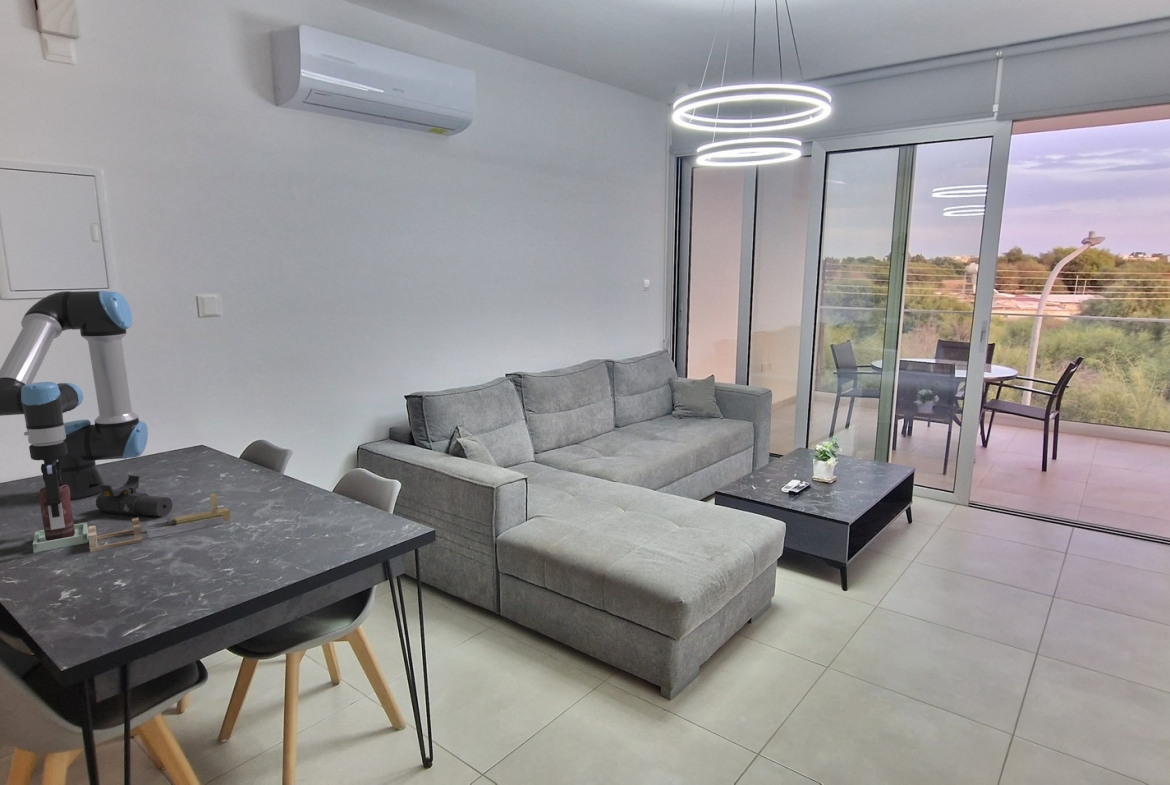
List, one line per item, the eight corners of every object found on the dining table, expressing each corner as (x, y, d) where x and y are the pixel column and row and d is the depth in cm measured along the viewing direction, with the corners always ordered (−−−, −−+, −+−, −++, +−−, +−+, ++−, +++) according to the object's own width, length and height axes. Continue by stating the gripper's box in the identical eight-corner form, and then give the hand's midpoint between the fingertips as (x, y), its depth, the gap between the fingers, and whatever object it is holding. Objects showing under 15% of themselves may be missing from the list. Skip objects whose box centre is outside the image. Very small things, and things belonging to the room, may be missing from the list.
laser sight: (151, 522, 186) (147, 489, 184) (88, 516, 191) (83, 483, 189) (179, 511, 196) (175, 479, 194) (118, 504, 201) (114, 473, 199)
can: (81, 535, 174) (74, 485, 171) (54, 544, 168) (46, 492, 166) (68, 531, 176) (61, 482, 174) (40, 540, 171) (33, 489, 168)
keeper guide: (146, 531, 179) (146, 524, 179) (220, 517, 190) (219, 510, 190) (148, 538, 175) (147, 531, 174) (223, 523, 185) (223, 516, 185)
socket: (90, 539, 173) (88, 525, 173) (139, 530, 180) (138, 516, 179) (90, 552, 166) (88, 537, 165) (142, 541, 172) (140, 527, 172)
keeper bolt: (168, 528, 181) (164, 501, 180) (228, 517, 190) (225, 491, 188) (169, 532, 179) (165, 504, 177) (230, 520, 187) (227, 493, 186)
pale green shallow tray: (36, 539, 174) (35, 531, 173) (88, 529, 180) (87, 522, 180) (33, 552, 165) (32, 544, 165) (87, 542, 172) (86, 534, 171)
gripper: (32, 435, 176) (43, 509, 179) (24, 455, 156) (37, 538, 160) (67, 431, 180) (77, 504, 184) (64, 450, 160) (76, 531, 164)
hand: (59, 520), depth 172 cm, fingers open, 13 cm apart
